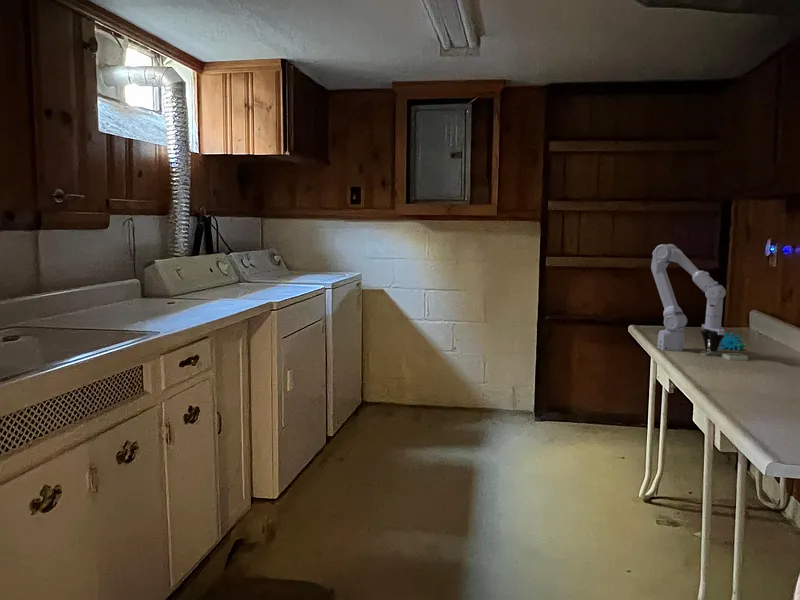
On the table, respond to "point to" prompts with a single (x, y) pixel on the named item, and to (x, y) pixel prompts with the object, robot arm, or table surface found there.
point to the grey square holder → (710, 353)
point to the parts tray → (734, 356)
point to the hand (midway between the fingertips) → (710, 350)
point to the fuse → (709, 347)
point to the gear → (731, 342)
